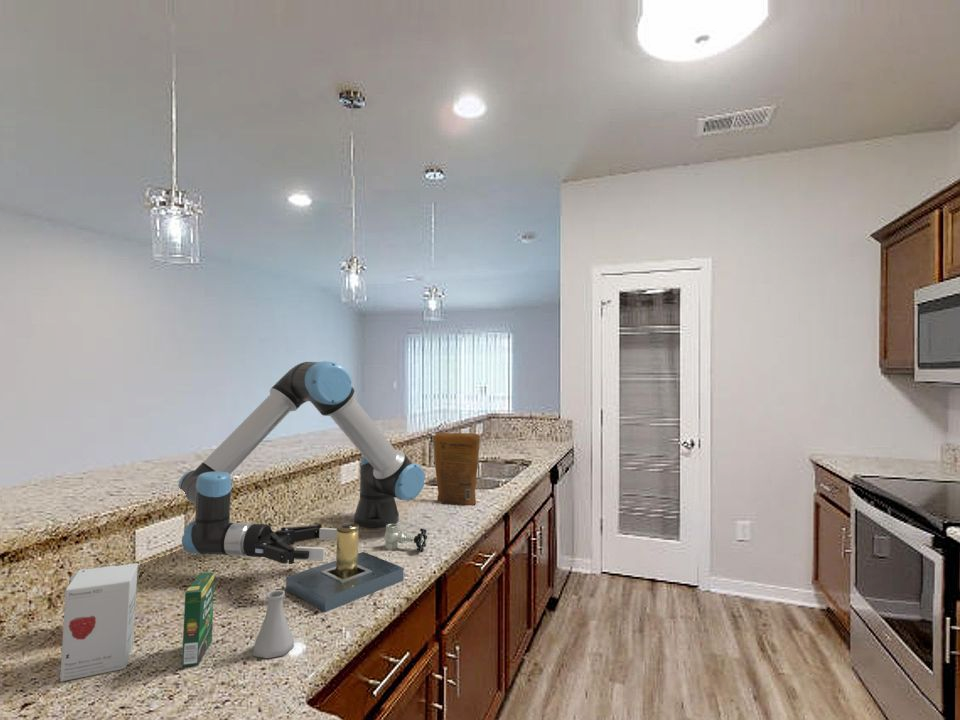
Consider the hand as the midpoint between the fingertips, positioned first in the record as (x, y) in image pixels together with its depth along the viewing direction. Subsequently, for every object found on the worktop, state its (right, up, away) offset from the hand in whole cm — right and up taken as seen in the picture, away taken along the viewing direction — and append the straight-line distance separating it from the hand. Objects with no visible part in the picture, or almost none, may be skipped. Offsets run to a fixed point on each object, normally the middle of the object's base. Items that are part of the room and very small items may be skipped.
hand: (335, 544), depth 118 cm
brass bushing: (+3, -10, 0) cm, 10 cm away
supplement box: (-31, -8, -33) cm, 46 cm away
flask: (-3, -9, -28) cm, 29 cm away
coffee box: (-16, -9, -30) cm, 35 cm away
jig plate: (+3, -10, 0) cm, 10 cm away
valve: (+13, -11, +25) cm, 30 cm away
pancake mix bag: (+25, -13, +76) cm, 81 cm away
